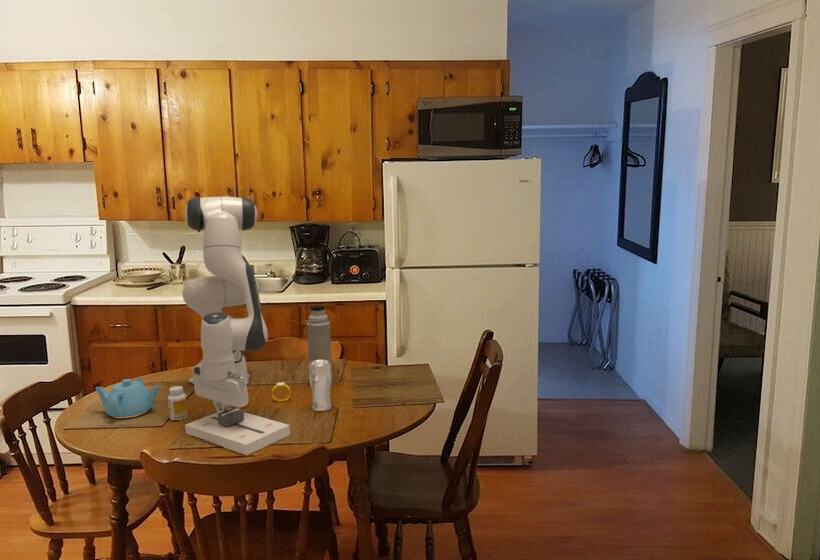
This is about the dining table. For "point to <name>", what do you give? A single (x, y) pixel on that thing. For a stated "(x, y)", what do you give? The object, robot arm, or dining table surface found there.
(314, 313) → the thermos bottle
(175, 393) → the supplement bottle
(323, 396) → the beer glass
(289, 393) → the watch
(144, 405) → the teapot
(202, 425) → the fader console
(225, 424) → the fader knob
